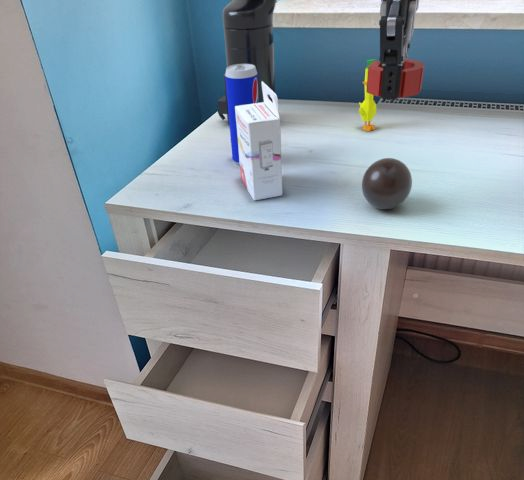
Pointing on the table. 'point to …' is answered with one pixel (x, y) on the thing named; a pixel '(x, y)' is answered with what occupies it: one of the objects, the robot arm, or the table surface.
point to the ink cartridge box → (260, 146)
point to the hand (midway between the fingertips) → (390, 95)
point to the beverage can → (239, 96)
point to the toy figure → (367, 104)
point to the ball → (386, 183)
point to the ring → (409, 78)
